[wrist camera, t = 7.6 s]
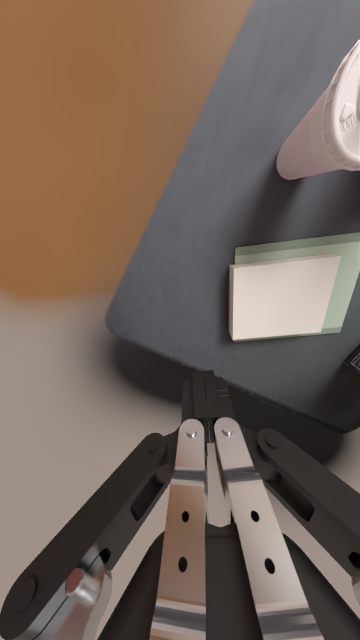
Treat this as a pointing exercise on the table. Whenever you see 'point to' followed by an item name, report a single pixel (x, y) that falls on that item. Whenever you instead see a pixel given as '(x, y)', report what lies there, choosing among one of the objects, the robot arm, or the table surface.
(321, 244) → the mat
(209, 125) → the table surface
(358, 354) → the small box
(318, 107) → the smoothie
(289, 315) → the tile
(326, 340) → the table surface
